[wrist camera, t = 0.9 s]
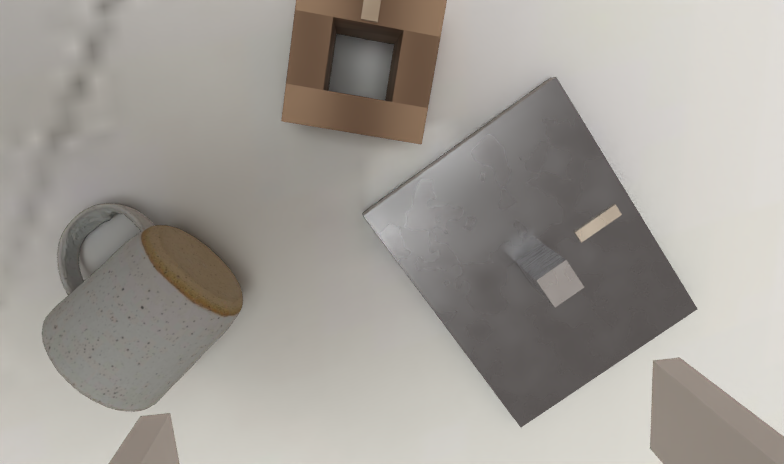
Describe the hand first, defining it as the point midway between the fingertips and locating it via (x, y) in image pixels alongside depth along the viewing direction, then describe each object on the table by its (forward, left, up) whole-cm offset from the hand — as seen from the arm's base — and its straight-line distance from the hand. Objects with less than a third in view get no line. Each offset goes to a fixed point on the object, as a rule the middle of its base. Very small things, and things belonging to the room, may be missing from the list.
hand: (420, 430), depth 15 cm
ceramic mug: (-7, -13, -21) cm, 25 cm away
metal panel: (+7, +7, -21) cm, 23 cm away
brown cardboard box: (-9, +5, -21) cm, 23 cm away
